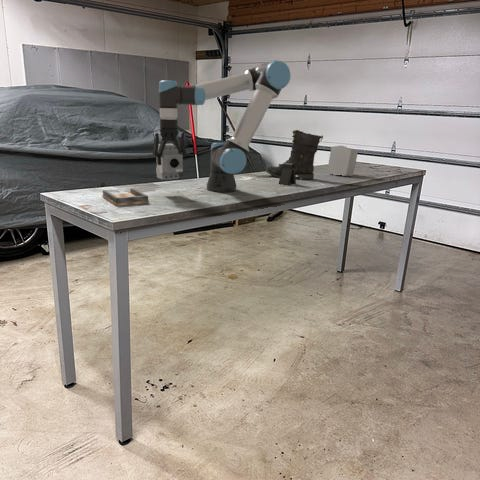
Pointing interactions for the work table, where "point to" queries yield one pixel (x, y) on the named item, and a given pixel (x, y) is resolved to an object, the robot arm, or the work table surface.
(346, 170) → the electrical switch box
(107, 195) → the track
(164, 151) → the circuit breaker
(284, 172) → the door stopper
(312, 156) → the boot
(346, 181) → the work table surface
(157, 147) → the robot arm
